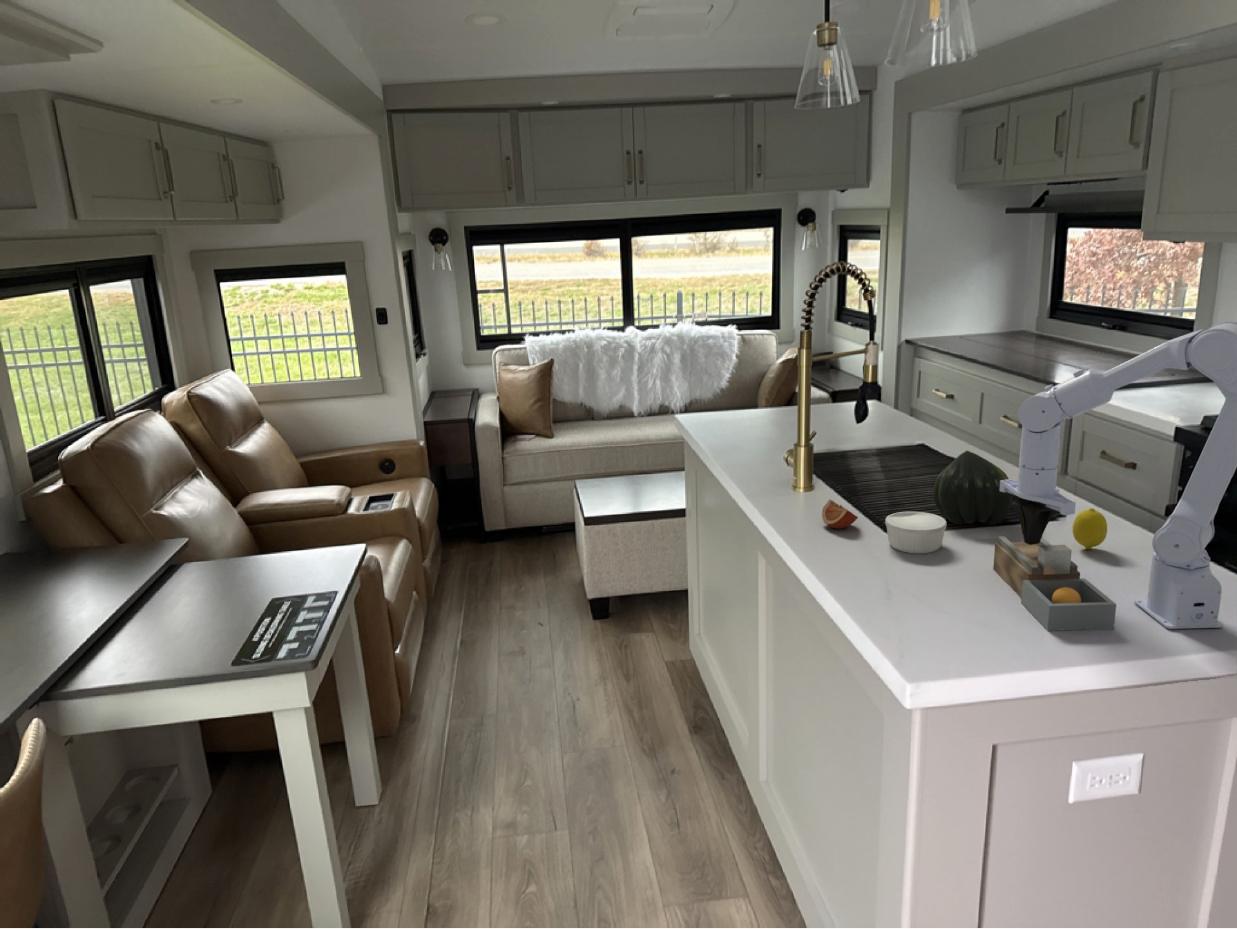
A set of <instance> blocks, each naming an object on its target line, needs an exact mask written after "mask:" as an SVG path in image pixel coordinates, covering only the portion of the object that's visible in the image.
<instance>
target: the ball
mask: <svg viewBox="0 0 1237 929" xmlns="http://www.w3.org/2000/svg"><path fill="white" fill-rule="evenodd" d="M1052 603H1053V604H1059V603H1081V597H1080V595H1079V594H1078V592H1077V591H1075V590H1074V589H1072V588H1068V587H1063V588H1059V589H1057V590H1056V591H1055V592H1054V594H1053V596H1052Z"/></svg>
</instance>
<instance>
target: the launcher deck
mask: <svg viewBox="0 0 1237 929" xmlns="http://www.w3.org/2000/svg"><path fill="white" fill-rule="evenodd" d="M1041 545H1052V544H1051V543H1050V542H1049V541H1047V540H1046V539H1045V538H1044V537H1042V538H1041V541H1040V543H1038V544H1033V545H1029V544H1027V543H1024V541H1015V542H1011V541H1010V540H1009V539H1008V538H1007V537H1006V536H1005V535H1004V536H998V538H997V542H994V553H993V555H994V556H993V568H992V570H993V571H994V572H995V573H996V574H997V575H998V576H1000V578H1001V579H1002V580H1003V581H1004V582H1005V583H1006V584H1007V585H1008V586H1009V587H1010V588H1011V590H1013V591H1014V592H1015V593H1016V594H1017V595H1018V596H1019V597H1020V598H1022V585H1023V580H1049V579H1081V572H1080V571H1079V570H1078V568H1079V566H1078V565H1077V564H1076V563H1075V562H1074V561H1072V560H1071V564H1070V574H1048V575H1043V574H1042V573H1041V572H1040V571H1039V567H1038V566H1037V563H1038V550H1039V546H1041Z"/></svg>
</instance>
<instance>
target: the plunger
mask: <svg viewBox="0 0 1237 929" xmlns="http://www.w3.org/2000/svg"><path fill="white" fill-rule="evenodd" d="M1072 551H1073V550H1072V548H1069V547H1068V546H1067V545H1066V544H1051V545H1041V546H1039V550H1038V563H1037V566H1038V567H1039V571H1040V572H1041V573H1042V574H1043V575H1048V574H1070V564H1071V561H1072Z"/></svg>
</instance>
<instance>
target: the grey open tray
mask: <svg viewBox="0 0 1237 929" xmlns="http://www.w3.org/2000/svg"><path fill="white" fill-rule="evenodd" d="M1063 587H1068V588H1072V589H1074V590H1075V591H1077V592H1078V594H1079V595H1080V597H1081V603H1059V604H1053V603H1052V596H1053V594H1054V592H1055V591H1056V590H1057V589H1059V588H1063ZM1020 598H1021V597H1020ZM1020 601H1021V602H1020V605H1022V606H1023V607H1024V608H1025V609H1026V610H1027V611H1028V612H1029V613H1030V614H1031V615H1032V617H1033V618H1034V619H1036V620H1037V621H1038V622H1039V623H1040V624H1041V625H1042V626H1043V628H1044V629H1046V630H1047V631H1077V629H1079V630H1078V631H1082V630H1081V629H1087V630H1114V629H1115V619H1116V612H1117V603H1116V602H1115V601H1113V600H1112V599H1111V598H1109V597H1108V596H1107V595H1106V594H1104V592H1102V591H1101V590H1100V589H1098V588H1097V587H1096V586H1095V585H1094V584H1092V583H1091V582H1090V581H1089V580H1088V579H1086V577H1085V578H1084V577H1083V578H1082V577H1080V579H1049V580H1023V585H1022V598H1021V600H1020Z"/></svg>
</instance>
